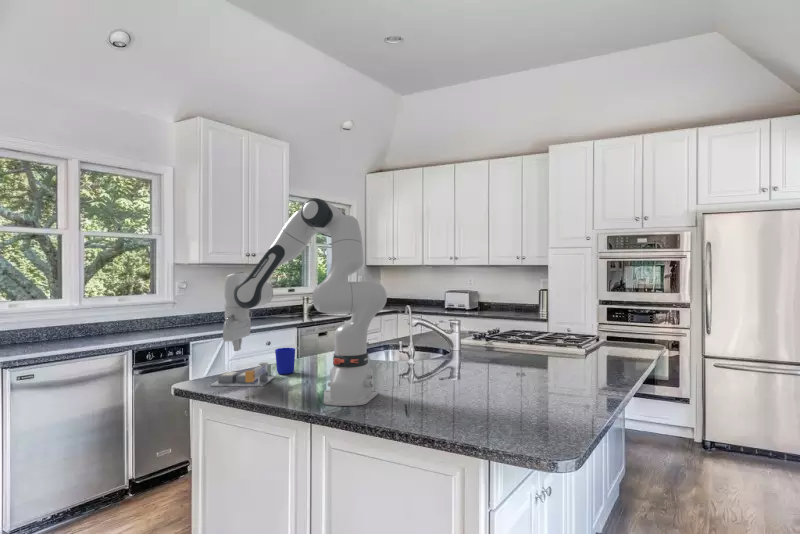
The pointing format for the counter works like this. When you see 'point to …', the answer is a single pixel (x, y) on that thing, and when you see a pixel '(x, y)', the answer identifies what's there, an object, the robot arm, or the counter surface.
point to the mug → (285, 360)
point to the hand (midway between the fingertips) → (237, 350)
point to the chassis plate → (256, 383)
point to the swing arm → (256, 372)
